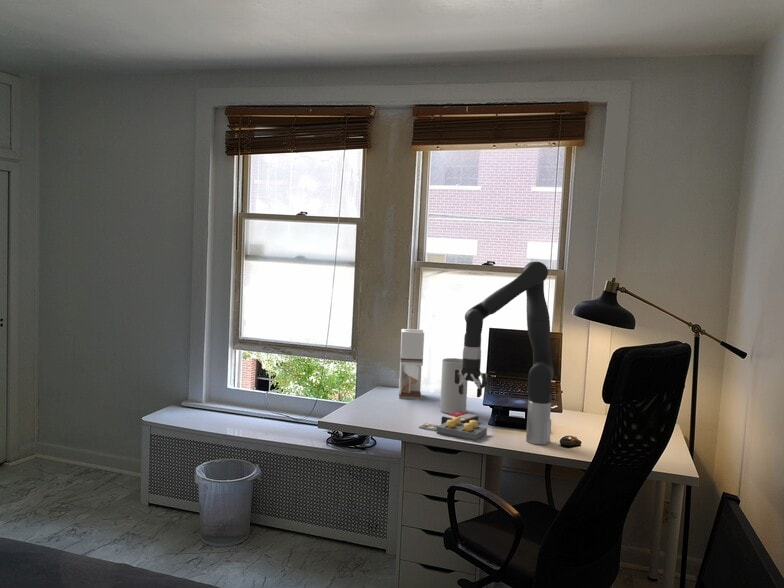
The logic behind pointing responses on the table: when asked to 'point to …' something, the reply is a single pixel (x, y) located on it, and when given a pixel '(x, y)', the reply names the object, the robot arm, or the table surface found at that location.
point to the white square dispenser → (411, 363)
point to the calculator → (464, 417)
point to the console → (462, 432)
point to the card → (429, 427)
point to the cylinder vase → (452, 387)
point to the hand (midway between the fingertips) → (469, 395)
